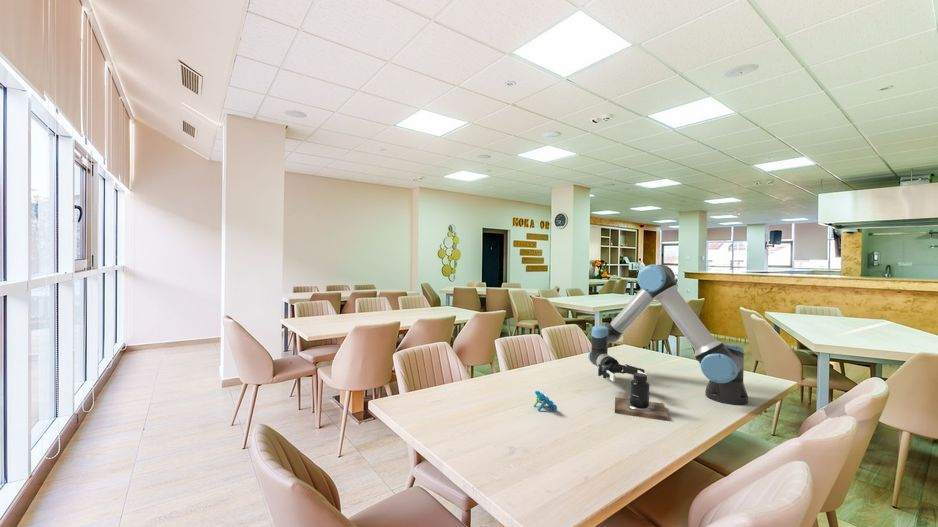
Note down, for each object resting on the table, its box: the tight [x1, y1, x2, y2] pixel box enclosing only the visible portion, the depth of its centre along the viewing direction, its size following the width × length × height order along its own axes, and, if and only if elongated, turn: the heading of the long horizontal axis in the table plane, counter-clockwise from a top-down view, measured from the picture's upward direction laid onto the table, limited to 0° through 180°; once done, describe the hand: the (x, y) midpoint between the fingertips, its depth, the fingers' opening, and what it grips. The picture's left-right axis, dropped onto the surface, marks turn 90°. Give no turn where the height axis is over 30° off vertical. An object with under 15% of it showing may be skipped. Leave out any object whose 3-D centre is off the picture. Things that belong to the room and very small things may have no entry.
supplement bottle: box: [629, 373, 651, 408], centre depth 149 cm, size 7×7×12 cm
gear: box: [533, 390, 558, 412], centre depth 148 cm, size 11×6×10 cm
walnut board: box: [614, 396, 669, 422], centre depth 149 cm, size 18×14×2 cm
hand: (630, 378), depth 156 cm, fingers open, 13 cm apart
